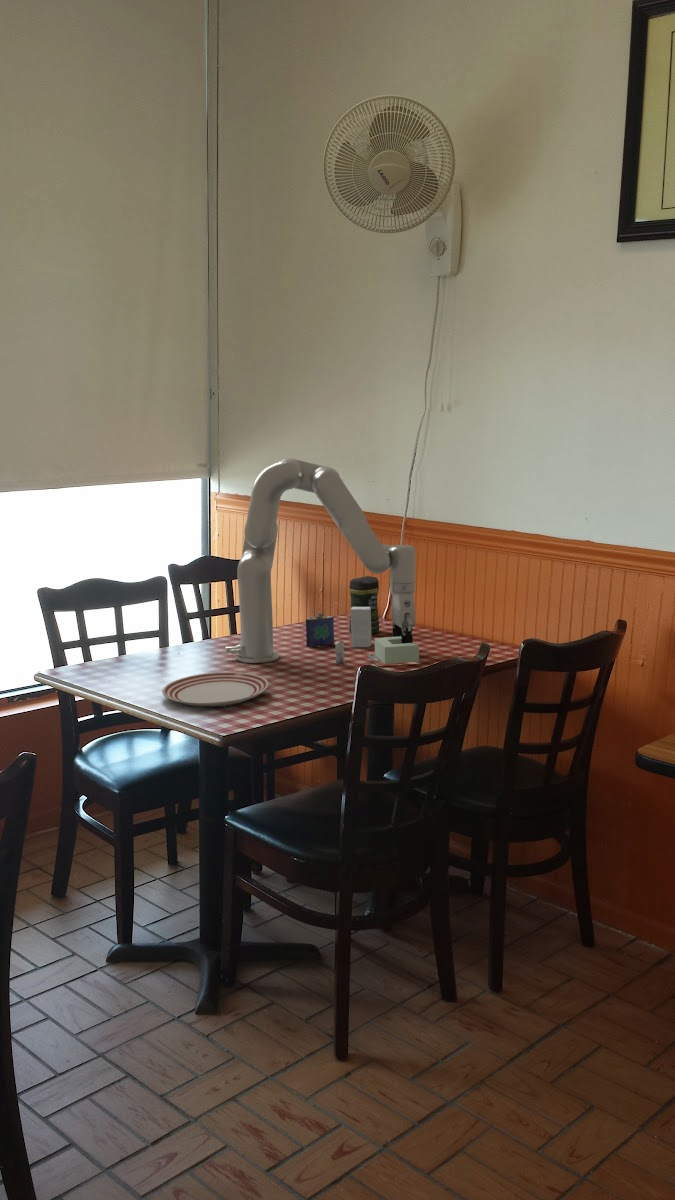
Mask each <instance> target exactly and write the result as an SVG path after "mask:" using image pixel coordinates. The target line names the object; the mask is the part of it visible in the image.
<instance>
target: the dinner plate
mask: <svg viewBox="0 0 675 1200" xmlns="http://www.w3.org/2000/svg"><path fill="white" fill-rule="evenodd" d="M269 686H270V685H269V681H268V679H266V678H265V677H263V676H260V675H258V674H253V673H248V672H247V673H246V672H239V671H236V672H235V671H214V672H204V673H199V674H193V675H190V676H185V677H182V678H179V679H178V678H177V679H175V680H173V681H171V682H170V683H168V684H166V685H165V686H164V687H163V688H162V691H161V692H162V695H163V697H165V698H166V699H168V700H171V701H174V702H176V703H179V704H184V705H188V706H192V705H194V706H193V707H199V706H220V707H225V706H224V705H229V706H232V705H231V704H234V705H237V704H236V703H238V704H241V703H243V701H244V702H246V701H248V700H251V699H253V698H256V697H258V696H259V695H261V694H262V693H264V692H265V691H266V690H267V689H268V688H269ZM240 702H241V703H240Z"/></svg>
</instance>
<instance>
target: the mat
mask: <svg viewBox="0 0 675 1200" xmlns="http://www.w3.org/2000/svg"><path fill="white" fill-rule="evenodd" d="M371 654H372V653H370V654H366V655H367V656H368V657H369V658H370V659H371V660H375V659H374V658H376V659H379V658H378V657H377V656H376V655H373V656H371ZM367 656H366V657H367ZM368 657H367V658H368ZM369 658H368V659H369ZM370 659H369V660H370ZM371 660H370V661H371ZM376 661H378V660H376ZM378 662H381V661H378ZM374 663H376V665H375V666H376V667H377V666H380V665H378V663H377V662H374ZM374 663H373V664H374ZM381 663H383V662H381ZM417 663H422V664H423V662H422V661H421V660H420V662H417ZM380 668H384V667H383V666H381V667H380Z"/></svg>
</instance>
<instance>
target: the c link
mask: <svg viewBox="0 0 675 1200" xmlns="http://www.w3.org/2000/svg"><path fill="white" fill-rule="evenodd" d="M374 654H375V655H376V656H377V657H378V658H379V659H380V660H381V661H382V662H383V663H385V664H395V663H405V662H419V660H420V645H419V644H418V643H417V642H413V643H404V644H401V636H399V637H393V636H390V637H389V636H388V637H385V636H384V637H375V638H374Z"/></svg>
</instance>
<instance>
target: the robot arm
mask: <svg viewBox="0 0 675 1200" xmlns="http://www.w3.org/2000/svg"><path fill="white" fill-rule="evenodd" d="M293 489H296V490H299V491H302V492H303V491H304V492H308V493H312V494H315V496H316V497H317V499H318V500H319V502H321V504H322V506H323V507H324V508H325V510H326V511H327V513H328V514H329V515H330V517H331V519H332V520H333V522H334V523H335V525H336V526H337V528H338V530H339V531H340V533H341V535H343V537H345V539H346V541H347V542H348V543H349V545H350V547H351V548H352V550H353V551H354V553H355V554H356V556H357V557H358V559H359V560H360V562H361V563H362V565H363V566H364V567H365V569H366V570H367V571H368V572H370V573H371V574H373V575H379V574H383V573H385V572H386V571H387V570H388V569H389V593H390V594H391V621H392V637H399V636H401V644H404V643H414V641H413V637H414V633H413V630H414V629H413V628H414V627H416V625H417V623H416V621H417V620H416V606H415V605H416V604H415V595H414V594H416V559H417V558H416V547H414V546H413V545H411V544H410V545H409V544H395V545H390V544H383V543H381V541H380V540H379V539H378V537H377V535H376V534H375V532H374V531H373V530H372V527H371V526H370V524H369V523H368V520H367V517H366V515H365V514H364V511H363V509H362V508H361V506H360V505H359V504H358V502H357V501H356V499H355V498H354V496H353V495H352V493H351V492H350V490H349V489H348V487H347V486H346V484H345V482H344V481H343V480H342V478H341V476H340V474H339V472H338V471H337V470H336V469H334V468H333V467H329V466H325V465H319V464H316V463H311V462H307V461H304V460H298V459H297V458H296V459H295V458H291V457H289V458H282V459H281V460H280V461H278V462H276V463H273V464H272V465H270V466H267V467H266V468H265V469H263V470H262V471H261V472H260V473H259V474H258V476H257V477H256V479H255V481H254V483H253V486H252V488H251V495H250V498H249V499H250V501H249V505H248V510H247V516H246V522H245V525H244V531H243V533H244V534H243V535H244V539H243V545H242V553H241V558H240V559H239V562H238V565H237V571H236V572H237V573H236V574H237V575H236V576H237V587H238V588H237V589H238V603H239V604H238V606H239V620H240V621H239V624H240V626H239V627H240V642H238V644H237V645H235V646H225V647H224V648H225V649H224V650H225V651H224V652H225V654H230V655H235V654H236V657H235V658H236V660H237V661H238V662H241V663H245V664H246V663H247V664H262V663H269V662H274V661H276V660H278V659H279V658H280V653H279V652H278V651H276V650H274V626H273V625H274V624H273V623H274V622H273V621H274V619H273V601H272V600H273V598H272V580H271V579H272V569H273V564H274V563H273V562H274V557H275V553H276V552H275V550H276V544H277V537H278V531H279V530H278V529H279V528H278V523H277V520H278V515H279V514H278V513H279V509H280V502H281V498H282V496H283V494H284V493H285V492H286V491H289V490H293Z"/></svg>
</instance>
